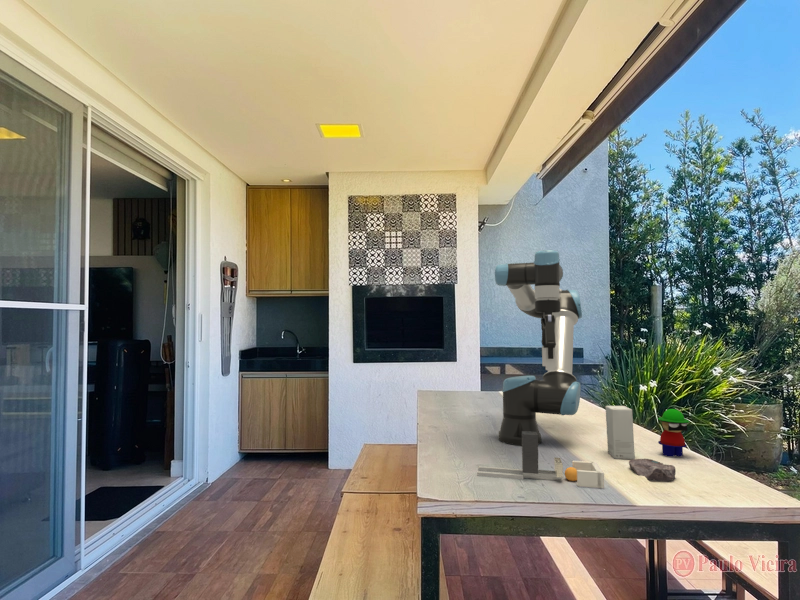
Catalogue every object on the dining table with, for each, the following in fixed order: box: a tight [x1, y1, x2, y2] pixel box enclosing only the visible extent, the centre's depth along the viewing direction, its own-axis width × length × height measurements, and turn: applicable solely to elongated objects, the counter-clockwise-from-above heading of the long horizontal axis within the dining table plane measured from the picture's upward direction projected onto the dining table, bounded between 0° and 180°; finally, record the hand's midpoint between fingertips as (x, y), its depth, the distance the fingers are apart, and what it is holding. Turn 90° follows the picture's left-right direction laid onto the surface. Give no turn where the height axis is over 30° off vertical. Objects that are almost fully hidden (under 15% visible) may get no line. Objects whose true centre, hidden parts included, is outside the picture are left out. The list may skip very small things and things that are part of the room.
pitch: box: [476, 466, 524, 480], centre depth 122 cm, size 34×14×2 cm, turn 77°
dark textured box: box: [521, 431, 564, 482], centre depth 122 cm, size 10×6×12 cm, turn 77°
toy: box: [657, 408, 691, 458], centre depth 147 cm, size 9×9×15 cm
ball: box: [564, 466, 577, 482], centre depth 119 cm, size 4×4×4 cm
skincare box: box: [605, 405, 636, 460], centre depth 147 cm, size 8×7×16 cm
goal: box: [571, 460, 605, 489], centre depth 119 cm, size 6×10×4 cm, turn 166°
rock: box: [628, 458, 676, 482], centre depth 126 cm, size 8×11×5 cm
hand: (548, 368), depth 141 cm, fingers open, 13 cm apart
